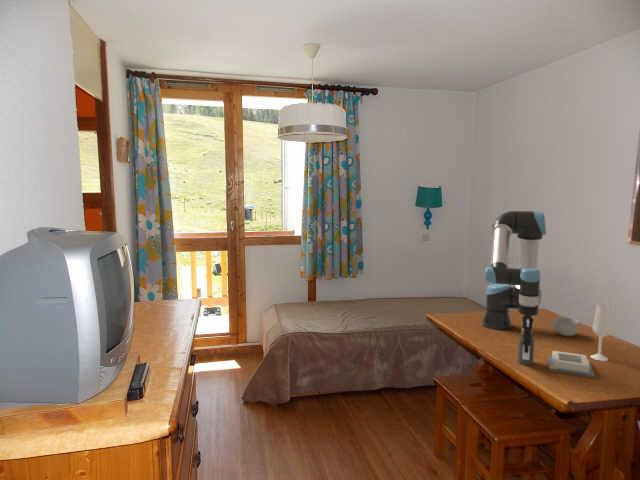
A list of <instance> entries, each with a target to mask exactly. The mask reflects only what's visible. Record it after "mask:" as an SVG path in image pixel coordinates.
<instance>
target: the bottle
mask: <svg viewBox="0 0 640 480" xmlns="http://www.w3.org/2000/svg"><path fill="white" fill-rule="evenodd" d="M520 331H521V332H520V334H519V335H520V337H519V339H518V353H517V362H518V364H520V365H523V366H532V365H533V363H534V349H535V348H534V347H535V340H534V338H533V337H534V329H533V328H532V329H531V336H530V355H529V360H525V359H522V353H523V345H521V343H523V342H524V328H523V327H521V328H520Z"/></svg>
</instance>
